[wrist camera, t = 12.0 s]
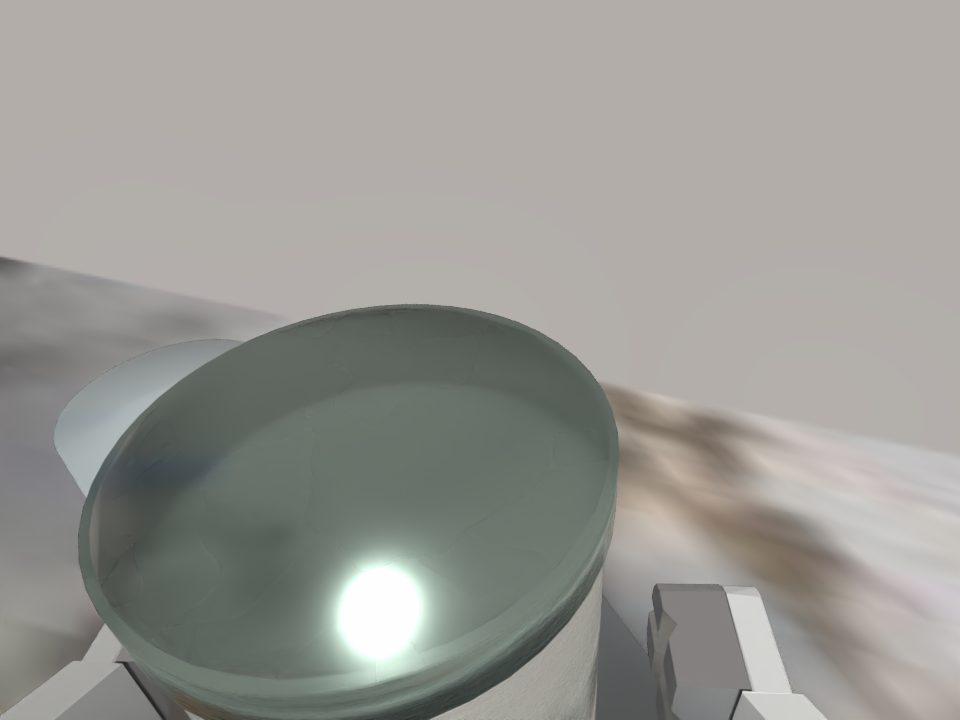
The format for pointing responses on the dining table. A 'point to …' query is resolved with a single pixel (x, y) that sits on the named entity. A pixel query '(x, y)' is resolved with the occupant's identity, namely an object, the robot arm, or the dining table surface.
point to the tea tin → (364, 524)
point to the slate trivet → (622, 673)
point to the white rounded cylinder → (123, 402)
